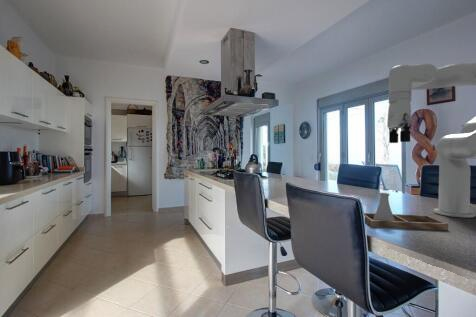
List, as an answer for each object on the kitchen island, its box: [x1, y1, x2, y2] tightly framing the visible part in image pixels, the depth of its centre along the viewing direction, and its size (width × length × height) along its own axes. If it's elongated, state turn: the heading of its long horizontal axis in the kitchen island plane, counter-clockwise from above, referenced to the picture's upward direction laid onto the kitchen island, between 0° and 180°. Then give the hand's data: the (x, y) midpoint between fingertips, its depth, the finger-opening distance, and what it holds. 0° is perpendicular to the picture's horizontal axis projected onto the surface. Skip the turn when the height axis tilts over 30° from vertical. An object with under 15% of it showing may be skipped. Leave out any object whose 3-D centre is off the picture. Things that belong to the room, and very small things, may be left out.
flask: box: [373, 192, 395, 221], centre depth 89 cm, size 7×7×10 cm
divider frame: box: [363, 212, 449, 231], centre depth 89 cm, size 22×12×2 cm, turn 81°
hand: (399, 142), depth 102 cm, fingers open, 9 cm apart
